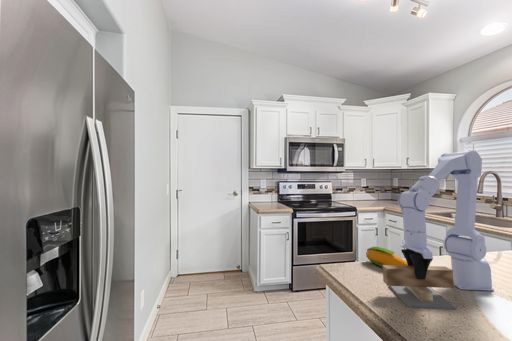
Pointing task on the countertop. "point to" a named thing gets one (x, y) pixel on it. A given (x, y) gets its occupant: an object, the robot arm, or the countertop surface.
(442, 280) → the brown wooden block
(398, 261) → the corn
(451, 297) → the countertop surface
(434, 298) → the board
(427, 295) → the ridge
